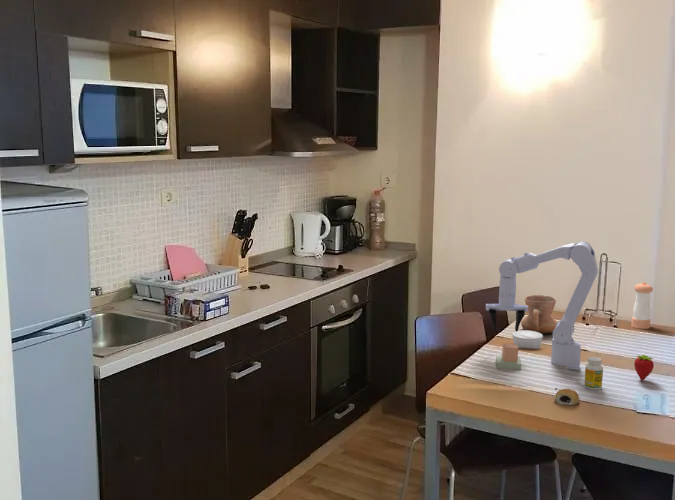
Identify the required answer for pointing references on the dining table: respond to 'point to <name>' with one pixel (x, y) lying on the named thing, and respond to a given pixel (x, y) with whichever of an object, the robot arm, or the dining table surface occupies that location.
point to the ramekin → (527, 339)
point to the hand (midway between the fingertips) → (505, 330)
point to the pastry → (566, 397)
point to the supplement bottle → (593, 374)
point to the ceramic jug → (539, 314)
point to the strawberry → (643, 366)
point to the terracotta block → (510, 352)
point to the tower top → (507, 363)
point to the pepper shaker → (642, 306)
